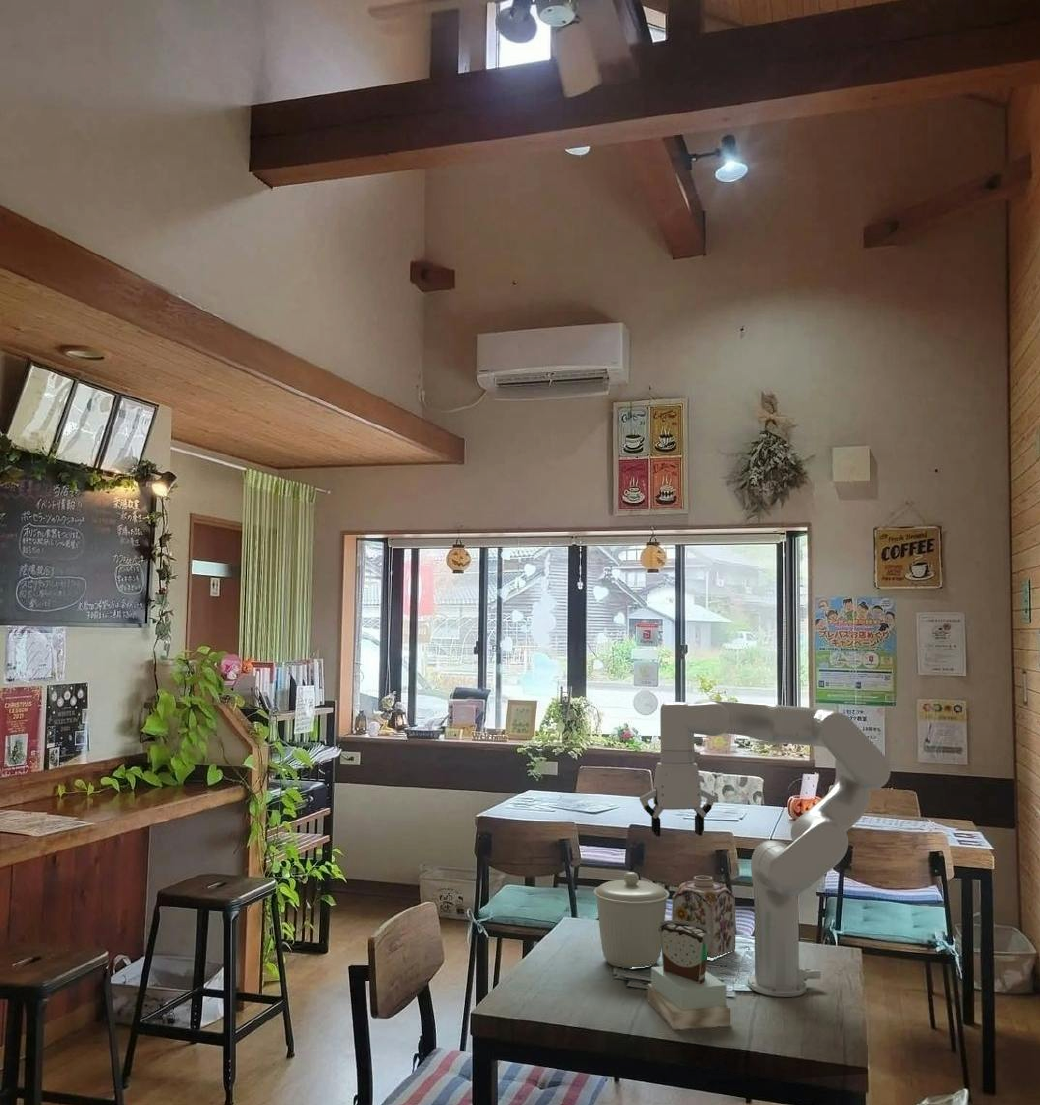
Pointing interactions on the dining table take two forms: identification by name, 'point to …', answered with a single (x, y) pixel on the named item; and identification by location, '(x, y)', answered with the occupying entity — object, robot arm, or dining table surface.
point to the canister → (631, 920)
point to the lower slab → (688, 1013)
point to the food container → (684, 949)
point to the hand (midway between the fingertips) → (677, 835)
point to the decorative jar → (708, 911)
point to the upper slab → (689, 990)
